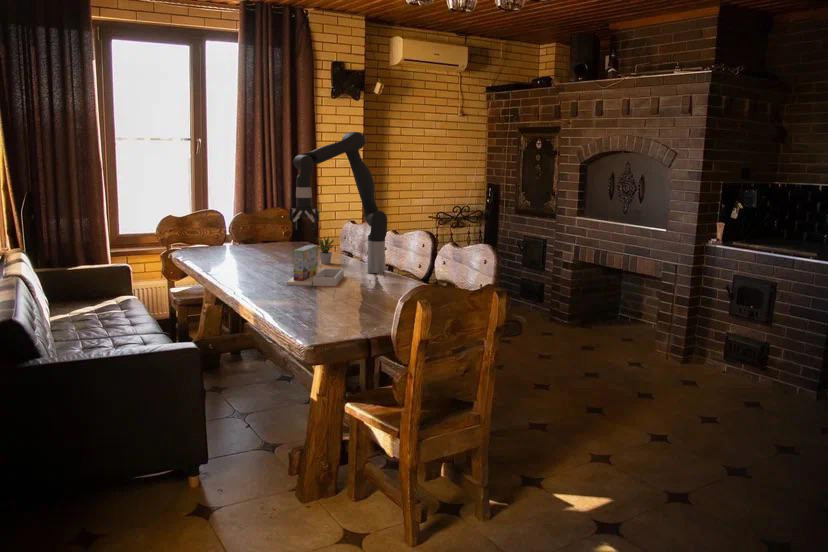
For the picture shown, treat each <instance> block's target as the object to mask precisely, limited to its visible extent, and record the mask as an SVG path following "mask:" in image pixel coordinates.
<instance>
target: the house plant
mask: <svg viewBox="0 0 828 552" xmlns="http://www.w3.org/2000/svg"><path fill="white" fill-rule="evenodd" d="M336 240H338V237H335V238H334V239H332V240H330V236H329V235H327V239H326V236H323V239H320V237H317V242H318V243H319V245H320V246H318V245H317V248H319V249H320V250H321V251H320V252H319V259H320V264H321V265H330V264H331V261H332V257H333V256H332V255H333V253H332V252H331V249H334V248H335V249H336V246H334V244H333V243H335V241H336ZM331 244H332V245H331Z"/></svg>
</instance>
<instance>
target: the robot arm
mask: <svg viewBox="0 0 828 552" xmlns="http://www.w3.org/2000/svg"><path fill="white" fill-rule="evenodd" d="M365 144H366V138H365V136H364V135H363V133H361V132H359V131H351V132H346V133H344V134H343V136H342V137H341V140H340V141H337V142H333V143H330V144H327V145H324V146H321V147H319V148H316V149H314V150H312V151H307V152H305V153H301V154H298V155H296V156H295V157H294V159H293V163H292V164H293V166H294V167H295V168H296V169H297V170H300V172H299V174H298V175H297V176H296V183H295V184H296V189H295V198H296V199H295V202H296V203H295V204H296V205H295V207H296V208H293V207H292V208H289V221H291V222H292V225H293V229H294V230H295V231H297V230H298V219H299V218H308V219H310V221H311V230H312V231H314V230H315V229H316V223H317V222H318V221H320V214H319V208H313V200H312V199H313V196H312V194H313V191H312V180H311V179H312V175H313V171H314V165H318V164H321V163H325V162H326V161H329V160H332V159H334V158H336V157H338V156H340V155H343V154H345V155H346V157H347V160H348V162H349V165H350V168H351V169H350V170H351V173H352V175H353V178H354V182H355V185H356V188H357V191H358V194H359V197H360V198H359V199H360V200H361V204H362V208H363V212H364V218H365V221H366V223H367V225H368V226H370V232H369V234H368V236H367V273H368V272H369V273H368V274H371V273H383V272H384V271H385V272H386V237H387V234H388V233H387V232H388V216H387V214H386V213H385V212H384V211H382V210H379V208H378V206H377V202H376V197H375V193H376V192H375V191H376V187H375V181H374V178H373V174H372V171H371V169H370V168H369V167H368V165H366V163H365V162H364V160H363V159H362V157H361V154H360V151H359V150H361V149H362V148H364V146H365ZM294 213H296V215H295V217H294ZM312 213H314V214H315V218H314V216H313V214H312Z"/></svg>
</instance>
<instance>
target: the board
mask: <svg viewBox="0 0 828 552" xmlns="http://www.w3.org/2000/svg"><path fill="white" fill-rule="evenodd" d="M314 276H315V275H314ZM314 276H312V277H310V278H308V279H306V280H304V281H296V280H294V276H292V277H291V278H290V279H288V280H287V281H286V286H313V277H314Z"/></svg>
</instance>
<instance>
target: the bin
mask: <svg viewBox="0 0 828 552" xmlns="http://www.w3.org/2000/svg"><path fill="white" fill-rule="evenodd" d="M344 273H345V269H344V268H331V267H330V268H327V267H326V268H325V267H323V268H322V269H321V270H319V271H318V272H317V274H316V275H315V276H314V277H313V285H312V286H313V287H314V286H316V287H336V286H337V285H338V283H339V282H341V280H342V279H344V277H345V274H344Z"/></svg>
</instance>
